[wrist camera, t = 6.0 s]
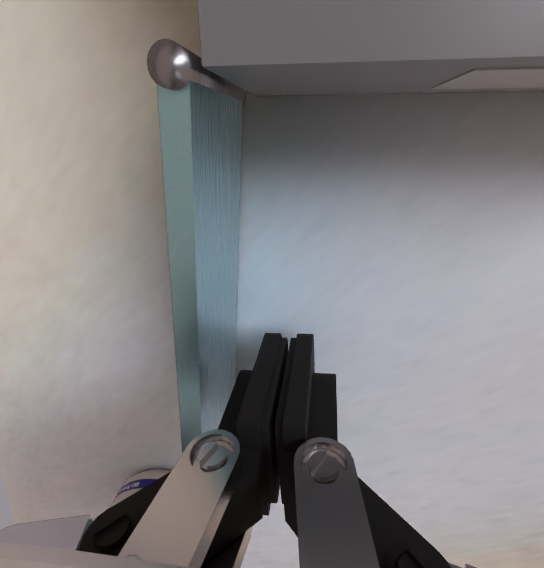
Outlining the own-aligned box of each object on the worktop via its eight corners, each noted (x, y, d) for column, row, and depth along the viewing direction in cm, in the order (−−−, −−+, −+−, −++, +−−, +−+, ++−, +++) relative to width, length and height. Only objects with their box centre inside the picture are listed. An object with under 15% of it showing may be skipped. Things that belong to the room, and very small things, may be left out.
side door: (237, 411, 14) (203, 515, 10) (211, 406, 15) (168, 508, 11) (245, 80, 9) (186, 39, 5) (206, 78, 9) (119, 37, 5)
